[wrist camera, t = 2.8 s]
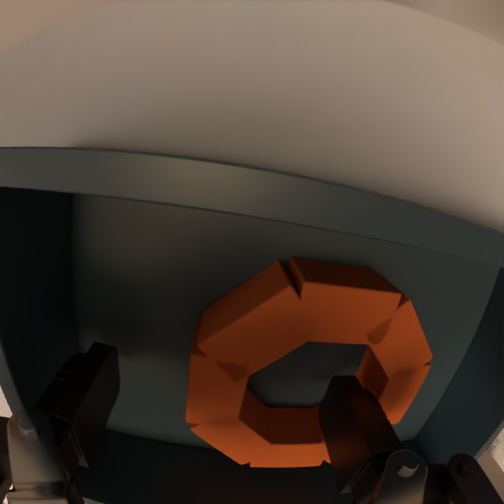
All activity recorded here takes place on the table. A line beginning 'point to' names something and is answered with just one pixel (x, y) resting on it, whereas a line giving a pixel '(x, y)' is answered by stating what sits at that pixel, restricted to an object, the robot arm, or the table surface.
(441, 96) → the table surface
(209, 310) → the ring
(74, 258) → the tray
